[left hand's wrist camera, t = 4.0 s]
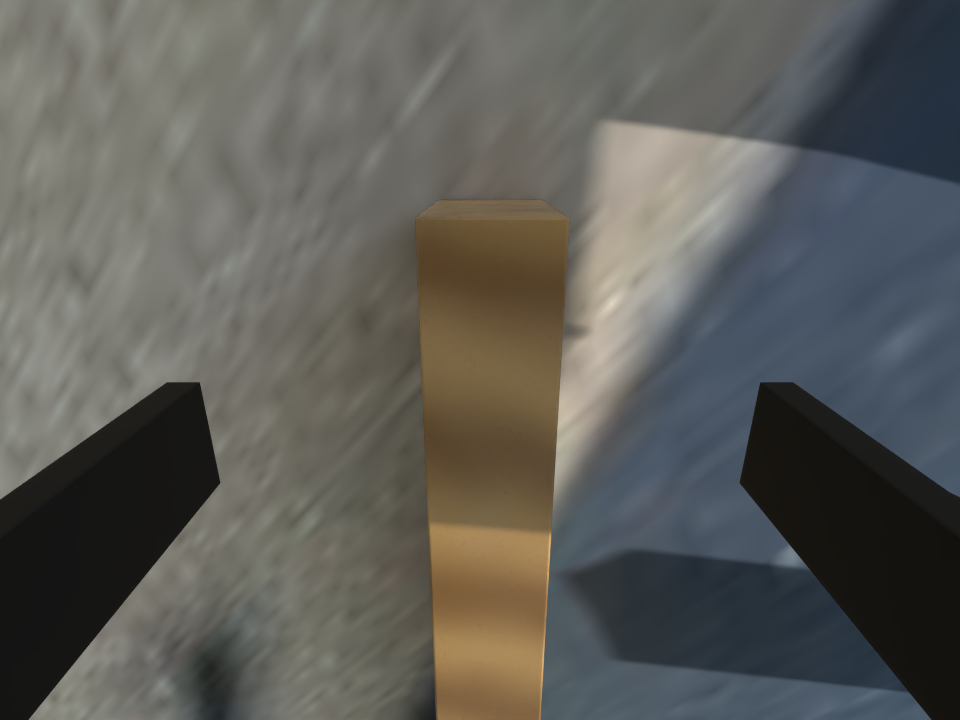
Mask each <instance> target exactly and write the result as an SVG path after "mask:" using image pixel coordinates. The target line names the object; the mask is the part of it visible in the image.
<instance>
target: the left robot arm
mask: <svg viewBox="0 0 960 720" xmlns="http://www.w3.org/2000/svg"><path fill="white" fill-rule="evenodd" d="M219 484H220V479H219V474H218V469H217V464H216V460H215V455H214V450H213V445H212V440H211V435H210V430H209V425H208V420H207V416H206V411H205V406H204V401H203V396H202V391H201V386H200V382H167V383H166V384H164V385H163V386H161V387H160V388H158V389H157V390H156V391H154V392H153V393H151V394H150V395H148V396H147V397H146V398H144V399H143V400H141V401H140V402H139V403H137V404H136V405H134V406H133V407H131V408H130V409H129V410H127V411H126V412H124V413H123V414H121V415H120V416H119V417H117V418H116V419H114V420H113V421H111V422H110V423H109V424H107V425H106V426H104V427H103V428H102V429H100V430H99V431H97V432H96V433H94V434H93V435H92V436H90V437H89V438H87V439H86V440H84V441H83V442H82V443H80V444H79V445H77V446H76V447H74V448H73V449H72V450H70V451H69V452H67V453H66V454H65V455H63V456H62V457H60V458H59V459H57V460H56V461H55V462H53V463H52V464H50V465H49V466H47V467H46V468H45V469H43V470H42V471H40V472H39V473H37V474H36V475H35V476H33V477H32V478H30V479H29V480H28V481H26V482H25V483H23V484H22V485H20V486H19V487H18V488H16V489H15V490H13V491H12V492H10V493H9V494H8V495H6V496H5V497H3V498H2V499H0V720H29V718H30V717H31V716H32V715H33V713H34V712H35V711H36V710H37V708H38V707H39V706H40V705H41V704H42V702H43V701H44V700H45V699H46V697H47V696H48V695H49V694H50V692H51V691H52V690H53V689H54V687H55V686H56V685H57V684H58V683H59V681H60V680H61V679H62V678H63V676H64V675H65V674H66V673H67V671H68V670H69V669H70V668H71V666H72V665H73V664H74V663H75V662H76V660H77V659H78V658H79V657H80V655H81V654H82V653H83V652H84V650H85V649H86V648H87V647H88V646H89V644H90V643H91V642H92V641H93V639H94V638H95V637H96V636H97V634H98V633H99V632H100V631H101V629H102V628H103V627H104V626H105V625H106V623H107V622H108V621H109V620H110V618H111V617H112V616H113V615H114V613H115V612H116V611H117V610H118V609H119V607H120V606H121V605H122V604H123V602H124V601H125V600H126V599H127V597H128V596H129V595H130V594H131V592H132V591H133V590H134V589H135V588H136V586H137V585H138V584H139V583H140V581H141V580H142V579H143V578H144V576H145V575H146V574H147V573H148V571H149V570H150V569H151V568H152V567H153V565H154V564H155V563H156V562H157V560H158V559H159V558H160V557H161V555H162V554H163V553H164V552H165V551H166V549H167V548H168V547H169V546H170V544H171V543H172V542H173V541H174V539H175V538H176V537H177V536H178V534H179V533H180V532H181V531H182V530H183V528H184V527H185V526H186V525H187V523H188V522H189V521H190V520H191V518H192V517H193V516H194V515H195V514H196V512H197V511H198V510H199V509H200V507H201V506H202V505H203V504H204V502H205V501H206V500H207V499H208V497H209V496H210V495H211V494H212V493H213V491H214V490H215V489H216V488H217V486H218V485H219ZM740 484H741V485H742V486H743V488H744V489H745V490H746V491H747V493H748V494H749V495H750V496H751V497H752V499H753V500H754V501H755V502H756V504H757V505H758V506H759V507H760V509H761V510H762V511H763V512H764V514H765V515H766V516H767V517H768V518H769V520H770V521H771V522H772V523H773V525H774V526H775V527H776V528H777V530H778V531H779V532H780V533H781V534H782V536H783V537H784V538H785V539H786V541H787V542H788V543H789V544H790V546H791V547H792V548H793V549H794V551H795V552H796V553H797V554H798V555H799V557H800V558H801V559H802V560H803V562H804V563H805V564H806V565H807V567H808V568H809V569H810V570H811V571H812V573H813V574H814V575H815V576H816V578H817V579H818V580H819V581H820V583H821V584H822V585H823V586H824V588H825V589H826V590H827V591H828V592H829V594H830V595H831V596H832V597H833V599H834V600H835V601H836V602H837V604H838V605H839V606H840V607H841V609H842V610H843V611H844V612H845V613H846V615H847V616H848V617H849V618H850V620H851V621H852V622H853V623H854V625H855V626H856V627H857V628H858V629H859V631H860V632H861V633H862V634H863V636H864V637H865V638H866V639H867V641H868V642H869V643H870V644H871V646H872V647H873V648H874V649H875V650H876V652H877V653H878V654H879V655H880V657H881V658H882V659H883V660H884V662H885V663H886V664H887V665H888V666H889V668H890V669H891V670H892V671H893V673H894V674H895V675H896V676H897V678H898V679H899V680H900V681H901V683H902V684H903V685H904V686H905V687H906V689H907V690H908V691H909V692H910V694H911V695H912V696H913V697H914V699H915V700H916V701H917V702H918V704H919V705H920V706H921V707H922V708H923V710H924V711H925V712H926V713H927V715H928V716H929V717H930V718H931V720H960V497H958V496H956V495H954V494H952V493H950V492H948V491H947V490H945V489H944V488H942V487H941V486H940V485H938V484H937V483H935V482H934V481H932V480H931V479H930V478H928V477H927V476H925V475H924V474H923V473H921V472H920V471H918V470H917V469H915V468H914V467H913V466H911V465H910V464H908V463H907V462H905V461H904V460H903V459H901V458H900V457H898V456H897V455H895V454H894V453H893V452H891V451H890V450H888V449H887V448H886V447H884V446H883V445H881V444H880V443H878V442H877V441H876V440H874V439H873V438H871V437H870V436H868V435H867V434H866V433H864V432H863V431H861V430H860V429H858V428H857V427H856V426H854V425H853V424H851V423H850V422H849V421H847V420H846V419H844V418H843V417H841V416H840V415H839V414H837V413H836V412H834V411H833V410H831V409H830V408H829V407H827V406H826V405H824V404H823V403H821V402H820V401H819V400H817V399H816V398H814V397H813V396H812V395H810V394H809V393H807V392H806V391H804V390H803V389H802V388H800V387H799V386H797V385H796V384H794V383H793V382H760V386H759V391H758V396H757V401H756V406H755V411H754V416H753V420H752V425H751V430H750V435H749V440H748V445H747V450H746V455H745V460H744V464H743V469H742V474H741V479H740Z"/></svg>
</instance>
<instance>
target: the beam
mask: <svg viewBox="0 0 960 720" xmlns="http://www.w3.org/2000/svg"><path fill="white" fill-rule="evenodd" d="M415 230H416V254H417V277H418V301H419V325H420V348H421V372H422V396H423V419H424V443H425V467H426V490H427V514H428V538H429V561H430V585H431V609H432V632H433V656H434V680H435V703H436V720H540V715H541V698H542V681H543V664H544V647H545V630H546V612H547V595H548V578H549V561H550V544H551V526H552V509H553V492H554V475H555V458H556V441H557V423H558V406H559V389H560V372H561V355H562V337H563V320H564V303H565V286H566V269H567V252H568V234H569V218H568V217H566V216H565V215H563V214H562V213H560V212H559V211H557V210H556V209H554V208H553V207H551V206H550V205H548V204H547V203H546V202H544V201H543V200H438V201H437V202H436V203H434V204H433V205H432V206H430V207H429V208H428V209H427V210H425V211H424V212H423V213H421V214H420V215H419V216H417V217H416V219H415Z"/></svg>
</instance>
